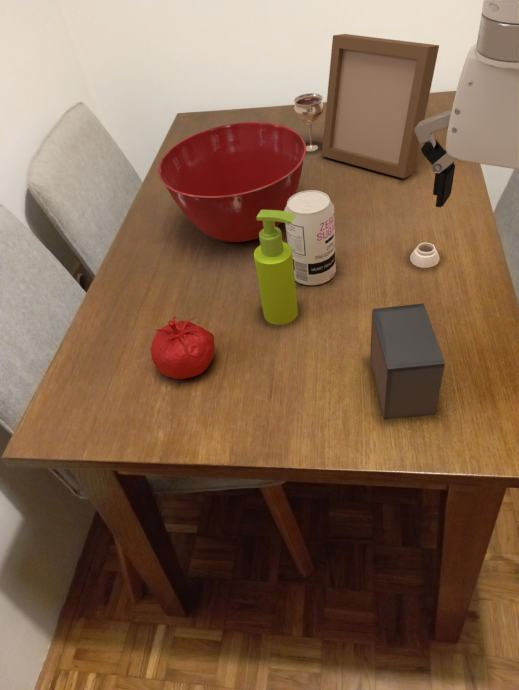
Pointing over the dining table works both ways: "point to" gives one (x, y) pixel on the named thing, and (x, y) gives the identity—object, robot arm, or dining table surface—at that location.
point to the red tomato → (182, 349)
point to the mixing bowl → (234, 176)
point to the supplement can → (312, 237)
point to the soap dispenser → (275, 269)
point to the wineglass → (309, 112)
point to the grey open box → (405, 361)
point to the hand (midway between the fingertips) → (487, 209)
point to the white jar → (425, 256)
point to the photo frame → (377, 102)
